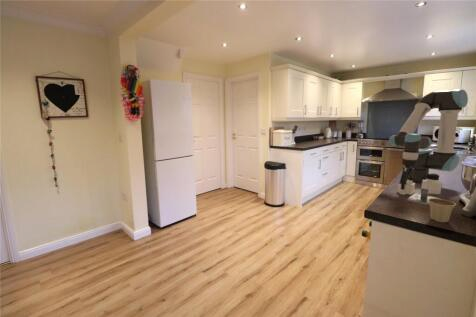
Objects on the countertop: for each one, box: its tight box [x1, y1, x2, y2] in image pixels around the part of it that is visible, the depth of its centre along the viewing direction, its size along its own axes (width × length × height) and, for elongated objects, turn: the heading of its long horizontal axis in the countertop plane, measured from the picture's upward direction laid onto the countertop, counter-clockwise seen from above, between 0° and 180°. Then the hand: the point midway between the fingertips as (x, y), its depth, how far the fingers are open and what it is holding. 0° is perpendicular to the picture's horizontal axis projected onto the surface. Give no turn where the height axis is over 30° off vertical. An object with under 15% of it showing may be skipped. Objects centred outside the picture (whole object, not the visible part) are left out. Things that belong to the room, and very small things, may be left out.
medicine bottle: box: [420, 172, 443, 195], centre depth 145 cm, size 7×7×12 cm
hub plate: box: [406, 189, 442, 207], centre depth 130 cm, size 16×12×6 cm
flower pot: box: [428, 197, 457, 223], centre depth 105 cm, size 9×9×9 cm
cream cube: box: [397, 182, 416, 196], centre depth 145 cm, size 7×7×7 cm
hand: (405, 192), depth 145 cm, fingers open, 13 cm apart
